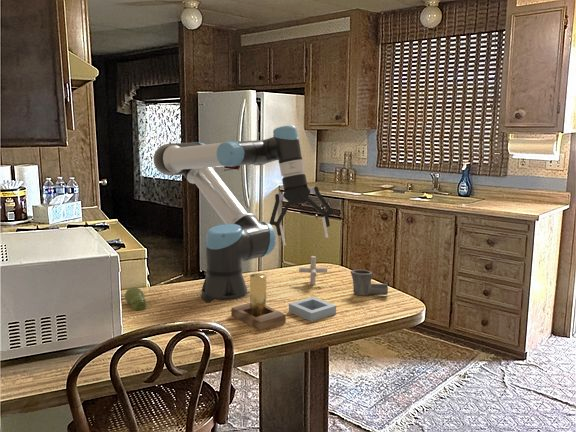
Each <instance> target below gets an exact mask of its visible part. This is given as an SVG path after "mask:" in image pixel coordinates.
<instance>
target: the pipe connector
mask: <svg viewBox="0 0 576 432" xmlns="http://www.w3.org/2000/svg"><path fill="white" fill-rule="evenodd" d="M298 273H305V274H306V273H310V279H309V280H310V282H309V283H310V284H309V285H312V286H313V285H316V277H317V274H318V273H319V274H328V267H317V256H314V255H311V256H310V267H298Z"/></svg>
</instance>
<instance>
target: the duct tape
mask: <svg viewBox="0 0 576 432" xmlns="http://www.w3.org/2000/svg"><path fill="white" fill-rule="evenodd" d="M202 332H204V333H205V334H206V335H209V336H210V335H211V336H212V335H216V334H217V333H216V332H214V331H209V330H202ZM206 335H205V336H206Z"/></svg>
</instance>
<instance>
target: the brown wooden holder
mask: <svg viewBox="0 0 576 432" xmlns="http://www.w3.org/2000/svg"><path fill="white" fill-rule="evenodd" d="M230 311H231V312H230V313H231V314H230V315H231V317H233V318H234V319H237V321H241V322H242V323H244V324H247V325H248V326H250V327H252V328H254V329H256V330H258V331H260V332H261V331H264V330H265V331H266V330H268V329H272V328H274V327H277V326H280V325H283V324H286V322H287V320H286V319H287V318H286V317H287V315H286V314H285V313H284V312H281V311H279V310H277V309H274V308H272V307H270V306H269V305H266V314H265V315H261V316H258V317H255V316H253V315H251V314H250V302H248V303H244V304H240V305H236V306H233V307H232V306H231V309H230Z"/></svg>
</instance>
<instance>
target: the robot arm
mask: <svg viewBox="0 0 576 432" xmlns="http://www.w3.org/2000/svg"><path fill="white" fill-rule="evenodd" d="M272 133H273V135H272V137H269V138H265V139H261V140H258V139H256V140H229V141H223V142H217V143H209V144H208V143H207V144H206V143H204V142H197V141H191V142H180V143H175V142H174V143H166V144H162V145H161V146H160V147H158V148H157V149H156V150H155V151H154V155H153V164H154V167H155V168H156V170H157V171H158V172H159V173H161V174H163V175H166V176H184V178H185V179H186V180H187V182H189V184H192V185H194V184H195V186H196V187H197V188H198V189H199V191H200V192H201V193H202V195H203V196H204V197H205V199H206V200H207V202H208V203H209V204H210V205H211V207H212V208H213V210H214V211H215V212H216V213H217V215H218V216H219V218H221V220H222V222H224V224H218V225H215V226H212V227H211V228H209V229H208V230H207V232H206V235H205V236H206V238H205V243H204V244H205V253H206V254H205V259H206V261H205V262H206V265H205V266H206V267H205V268H206V269H205V270H206V274H205V278H204V281H203V285H202V287H201V291H200V293H201V294H200V295H201V299H202V300H203V301H204V302H207V303H212V302H213V301H215V300H216V301H217V300H218V301H230V300H231V301H232V300H236V299H240V298H242V297H245V296H247V294H248V288H247V285H246V281H245V279H244V276H243V262H246V261H251V260H254V259H258V258H264V257H266V256H268V255H270V253H272V252H273V250H274V249H275V247H276V243H277V242H276V238H277V235H278V237H280V236H281V240H282V246H283V247H286V246H287V244H286V239H285V233H284V228H283V225H282V224H281V222H282V221H283V219H284V217H285V215H286V214H287V212H288V210H289V208H290V206H297V205H300V204H302V205H304V204H305V203H306V202H307V204H309V205H310V206H311V207H312V208H313V209H315V210H316V211H317V212H319V214H321V215H322V216H323V217H321V220H322V227H323V231H324V236H325V239H328V238H330V237H329V234H328V233H329V232H328V227H330V218H329V216H330V215H332V214H333V213H334V210H333V209H332V207H331V206H330V205H329V203H328V202H327V201H326V199H325V198H324V196H323V195H322V194H321V193H320V190H319V187H318V186H314V187H312V188H309V186H308V181H307V176H306V174H305V172H306V171H305V166H304V161H303V157H302V150H301V144H300V137H299V134H298V129H297V127H296V126H295V125H292V124H291V125H283V126H278V127H275V128H274V129H273V131H272ZM276 161H278V164H279V165H278V167H279V170H280V175H281V177H283V178H281V181H282V185H283V193H276V194H275V195H274V198H275V202H274V205H273V209H272V212H271V216H270V219H269V222H266V221H260V220H259V219H258V217H257V216H256V215H255V214H254V213H249V212H248V211H247V210H246V209H245V208H244V206H243V205H242V204H241V202H240V201H239V200H238V199H237V197H236V196H235V195H234V194H233V192H232V191H231V190H230V189H229V187H228V186H227V184H226V183H225V182H224V181H223V180H222V178H221V177H220V175H219V174H218V173H217V172H216V171H215V168H221V167H222V168H223V167H237V166H247V165H254V166H262V165H266V164H268V163H272V162H276ZM311 193H312V195H315V196H316V197H317V199H318V200H319V201H320V203H321V205H323V207H324V208H325V209H326V211H325V210H324V209H323V208H322V207H320V206H319V205H317V203H315V202H314V201H313V200H312V199H310V198H309V196H310V194H311ZM283 198H284V199H285V200H286V201H287V202H286V204H285V206H284V207H283V209H282V211H281V213H280V215H279V216H278V218H277V220H276V221H275V219H276V217H277V211H278V209H279V205H280V202H281V201H282V199H283ZM273 226H275V228H276V232H275V229H274V227H273ZM276 233H277V235H276Z"/></svg>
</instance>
